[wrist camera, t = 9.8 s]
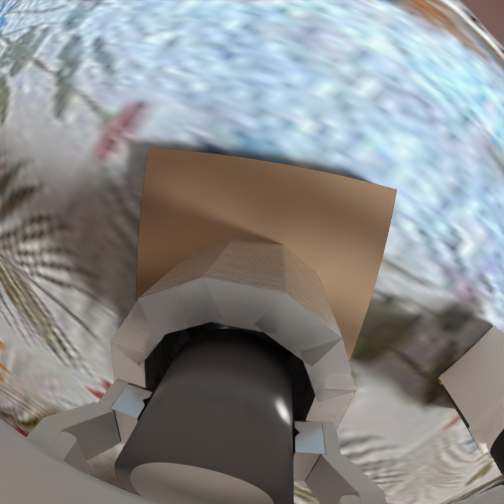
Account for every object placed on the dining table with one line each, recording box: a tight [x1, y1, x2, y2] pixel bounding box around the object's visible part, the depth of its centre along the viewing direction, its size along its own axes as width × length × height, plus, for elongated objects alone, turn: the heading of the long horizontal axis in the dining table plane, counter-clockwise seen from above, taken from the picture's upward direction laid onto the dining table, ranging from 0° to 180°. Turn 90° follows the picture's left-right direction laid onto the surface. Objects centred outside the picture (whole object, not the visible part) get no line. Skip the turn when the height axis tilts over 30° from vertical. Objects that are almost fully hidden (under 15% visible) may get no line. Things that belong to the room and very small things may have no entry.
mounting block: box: [136, 148, 397, 361], centre depth 18 cm, size 18×14×2 cm
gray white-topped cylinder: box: [115, 329, 294, 504], centre depth 8 cm, size 5×5×6 cm
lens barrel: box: [110, 236, 356, 430], centre depth 14 cm, size 10×10×7 cm
